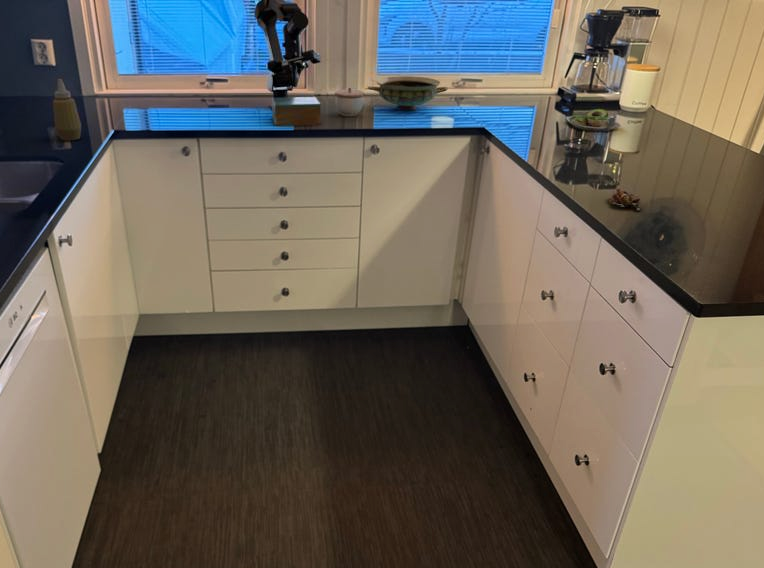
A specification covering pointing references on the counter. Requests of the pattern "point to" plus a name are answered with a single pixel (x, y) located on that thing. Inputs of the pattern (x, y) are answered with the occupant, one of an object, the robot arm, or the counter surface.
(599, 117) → the salad plate
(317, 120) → the toy box
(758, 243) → the counter surface
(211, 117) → the counter surface
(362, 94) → the trinket box
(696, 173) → the counter surface
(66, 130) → the squeeze bottle
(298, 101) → the lid
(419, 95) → the ceramic bowl
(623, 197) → the pastry
